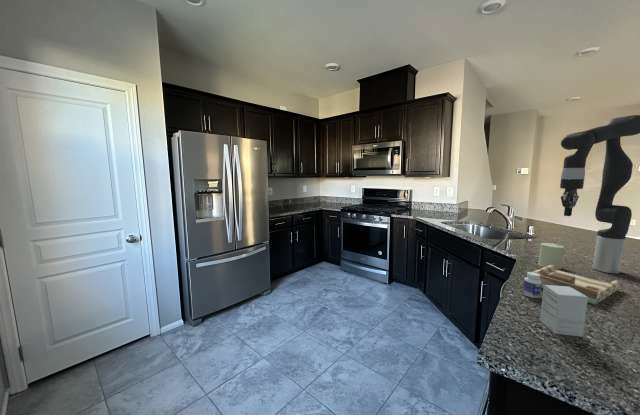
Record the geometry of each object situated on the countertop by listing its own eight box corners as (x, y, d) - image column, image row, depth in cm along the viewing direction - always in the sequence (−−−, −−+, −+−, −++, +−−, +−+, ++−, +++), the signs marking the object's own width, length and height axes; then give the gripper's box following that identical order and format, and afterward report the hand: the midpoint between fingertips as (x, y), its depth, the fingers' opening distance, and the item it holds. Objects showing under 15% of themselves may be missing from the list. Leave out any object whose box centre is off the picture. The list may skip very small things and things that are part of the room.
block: (555, 280, 109) (556, 272, 109) (574, 286, 104) (575, 277, 104) (549, 283, 107) (550, 274, 106) (568, 289, 101) (569, 279, 101)
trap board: (550, 272, 125) (552, 262, 124) (617, 289, 105) (619, 278, 105) (525, 282, 112) (526, 271, 112) (595, 304, 93) (597, 291, 92)
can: (566, 270, 127) (569, 247, 126) (545, 268, 129) (548, 246, 128) (553, 264, 136) (556, 242, 135) (534, 262, 138) (536, 241, 137)
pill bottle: (536, 299, 97) (539, 277, 96) (520, 294, 101) (522, 272, 100) (541, 296, 100) (544, 274, 99) (525, 290, 104) (528, 270, 103)
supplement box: (565, 323, 81) (570, 286, 80) (583, 337, 74) (589, 297, 72) (538, 320, 83) (543, 283, 81) (553, 334, 76) (559, 294, 74)
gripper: (567, 178, 121) (562, 213, 123) (555, 178, 114) (550, 215, 117) (589, 178, 114) (584, 216, 116) (578, 178, 108) (572, 218, 110)
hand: (567, 215), depth 117 cm, fingers closed
